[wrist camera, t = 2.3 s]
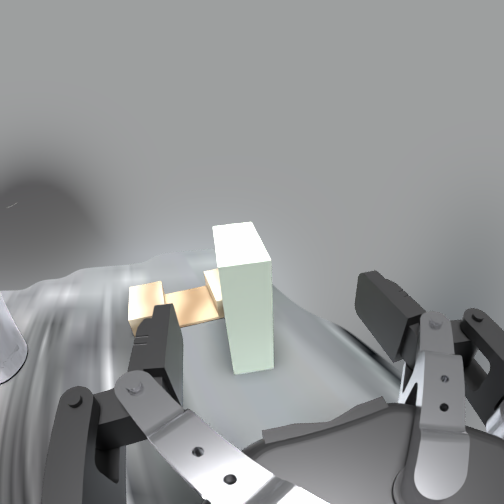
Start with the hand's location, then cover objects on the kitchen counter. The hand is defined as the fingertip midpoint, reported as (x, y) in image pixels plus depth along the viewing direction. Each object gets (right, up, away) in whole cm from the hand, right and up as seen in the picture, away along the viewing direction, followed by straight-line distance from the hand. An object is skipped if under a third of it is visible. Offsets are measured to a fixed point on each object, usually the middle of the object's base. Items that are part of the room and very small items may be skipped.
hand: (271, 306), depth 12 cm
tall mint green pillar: (-1, -7, +16) cm, 17 cm away
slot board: (-8, -4, +21) cm, 23 cm away
